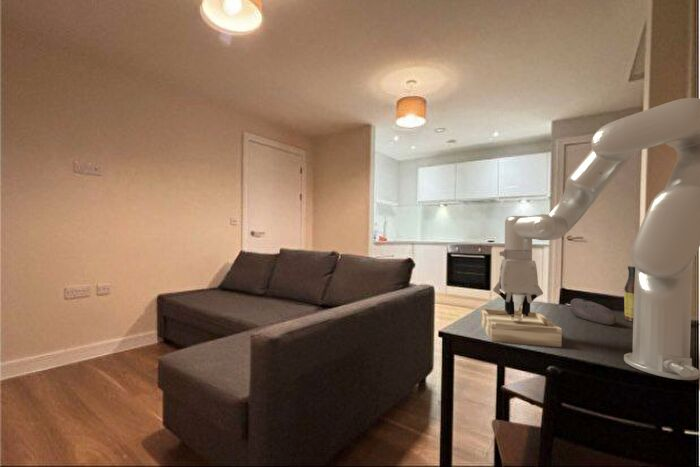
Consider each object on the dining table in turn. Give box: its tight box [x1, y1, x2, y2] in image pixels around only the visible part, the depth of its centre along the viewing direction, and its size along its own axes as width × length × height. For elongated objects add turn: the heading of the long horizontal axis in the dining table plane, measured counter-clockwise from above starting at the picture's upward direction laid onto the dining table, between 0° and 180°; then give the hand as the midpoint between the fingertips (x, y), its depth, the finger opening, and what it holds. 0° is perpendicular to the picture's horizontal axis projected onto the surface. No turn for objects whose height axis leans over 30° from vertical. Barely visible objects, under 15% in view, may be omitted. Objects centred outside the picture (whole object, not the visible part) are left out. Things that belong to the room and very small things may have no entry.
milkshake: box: [510, 293, 526, 321], centre depth 96 cm, size 5×5×10 cm
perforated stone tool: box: [569, 297, 617, 326], centre depth 111 cm, size 15×5×7 cm, turn 13°
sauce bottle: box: [623, 265, 635, 323], centre depth 111 cm, size 7×6×20 cm
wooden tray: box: [479, 307, 563, 348], centre depth 96 cm, size 18×18×6 cm
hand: (517, 313), depth 96 cm, fingers closed on milkshake, 4 cm apart
